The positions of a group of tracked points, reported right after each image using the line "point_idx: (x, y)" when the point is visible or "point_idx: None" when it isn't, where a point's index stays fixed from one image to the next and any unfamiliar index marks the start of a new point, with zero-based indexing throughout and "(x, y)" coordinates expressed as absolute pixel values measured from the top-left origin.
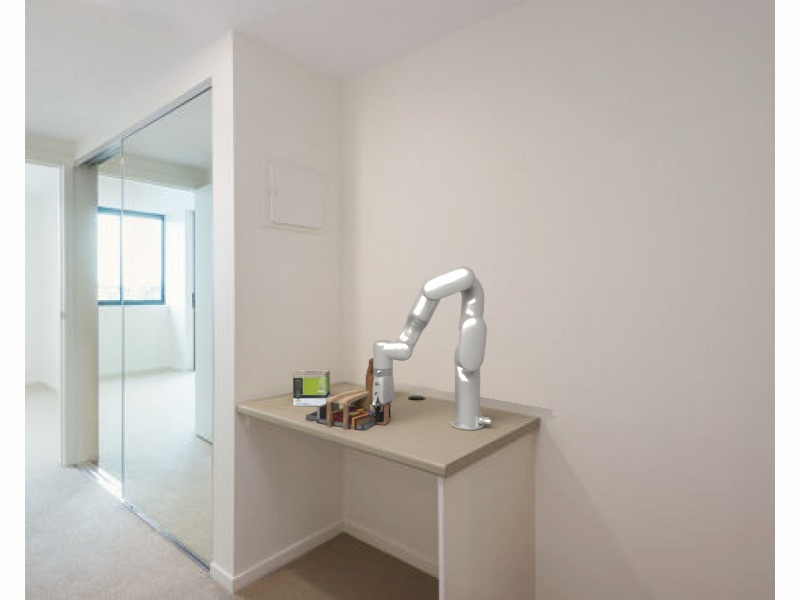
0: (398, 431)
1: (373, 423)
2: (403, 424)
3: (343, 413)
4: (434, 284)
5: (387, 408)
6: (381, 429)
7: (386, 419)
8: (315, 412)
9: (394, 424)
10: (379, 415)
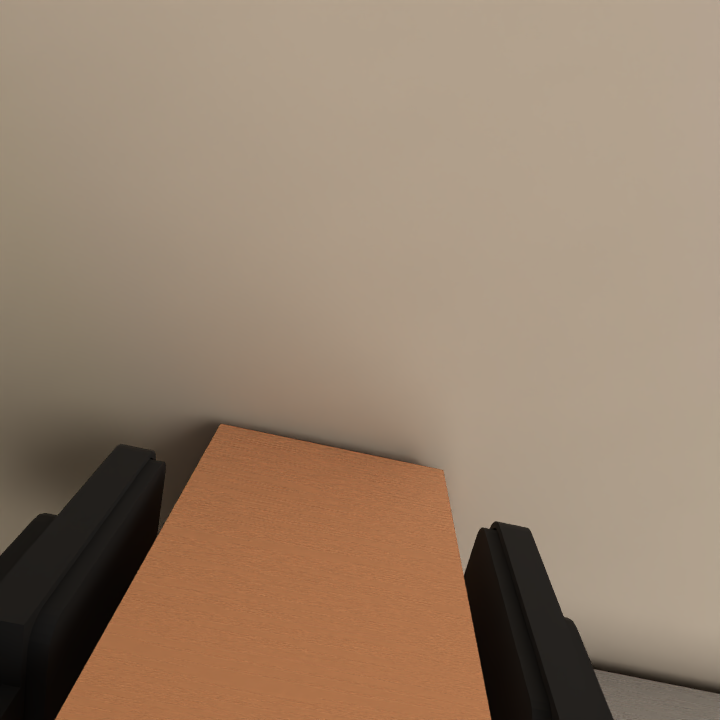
0: None
1: None
2: (229, 49)
3: None
4: None
5: (200, 693)
6: (690, 448)
7: (322, 489)
8: None
9: (293, 271)
10: (602, 716)
